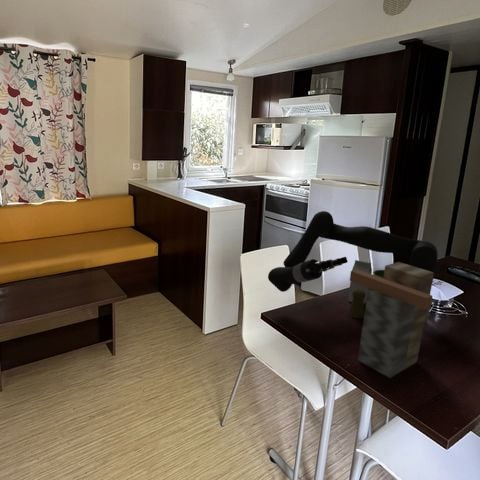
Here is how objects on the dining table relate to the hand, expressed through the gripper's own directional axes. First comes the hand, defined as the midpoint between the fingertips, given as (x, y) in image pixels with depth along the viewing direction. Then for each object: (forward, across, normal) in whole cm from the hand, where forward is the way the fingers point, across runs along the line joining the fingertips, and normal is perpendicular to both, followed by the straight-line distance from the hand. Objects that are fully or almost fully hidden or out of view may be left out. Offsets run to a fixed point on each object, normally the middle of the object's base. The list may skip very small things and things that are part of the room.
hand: (338, 261), depth 134 cm
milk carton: (-28, +38, +19) cm, 50 cm away
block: (+15, 0, +14) cm, 20 cm away
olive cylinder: (-20, +24, +23) cm, 39 cm away
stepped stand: (+4, +4, +36) cm, 37 cm away
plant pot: (-25, +53, +20) cm, 62 cm away
